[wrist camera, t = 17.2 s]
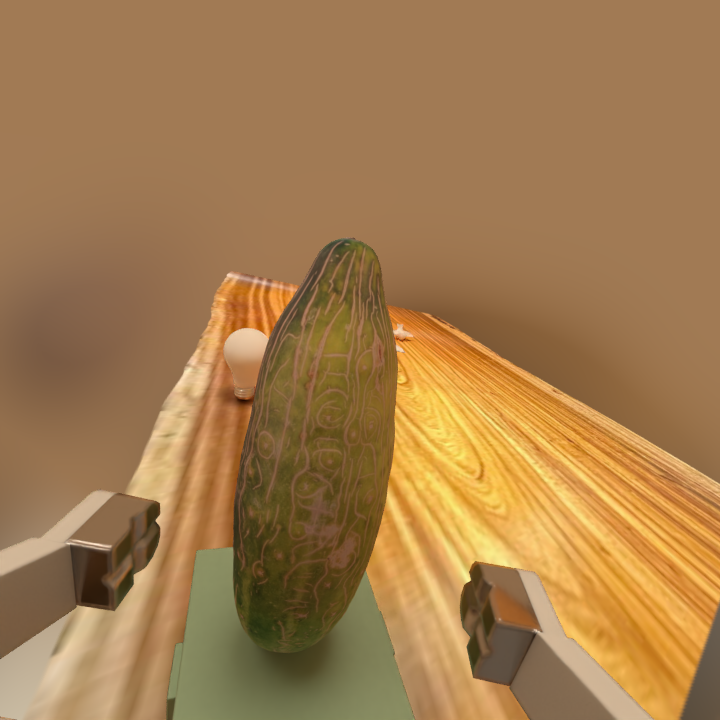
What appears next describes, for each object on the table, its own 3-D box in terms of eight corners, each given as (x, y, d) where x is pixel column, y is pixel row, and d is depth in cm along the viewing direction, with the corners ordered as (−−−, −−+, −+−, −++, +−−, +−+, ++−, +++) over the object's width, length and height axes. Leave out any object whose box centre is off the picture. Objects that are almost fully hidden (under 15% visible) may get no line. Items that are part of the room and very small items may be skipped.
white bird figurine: (389, 338, 100) (391, 321, 101) (384, 339, 105) (385, 322, 105) (416, 341, 102) (418, 324, 102) (410, 342, 107) (411, 326, 107)
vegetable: (367, 630, 20) (470, 260, 14) (293, 757, 15) (403, 254, 8) (283, 568, 23) (336, 232, 16) (194, 658, 17) (219, 213, 11)
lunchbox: (406, 846, 18) (442, 770, 15) (139, 952, 14) (137, 871, 12) (344, 600, 29) (360, 535, 26) (186, 622, 25) (189, 550, 23)
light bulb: (257, 387, 60) (264, 322, 56) (273, 407, 55) (281, 336, 51) (215, 391, 56) (219, 321, 52) (227, 412, 51) (233, 337, 47)
